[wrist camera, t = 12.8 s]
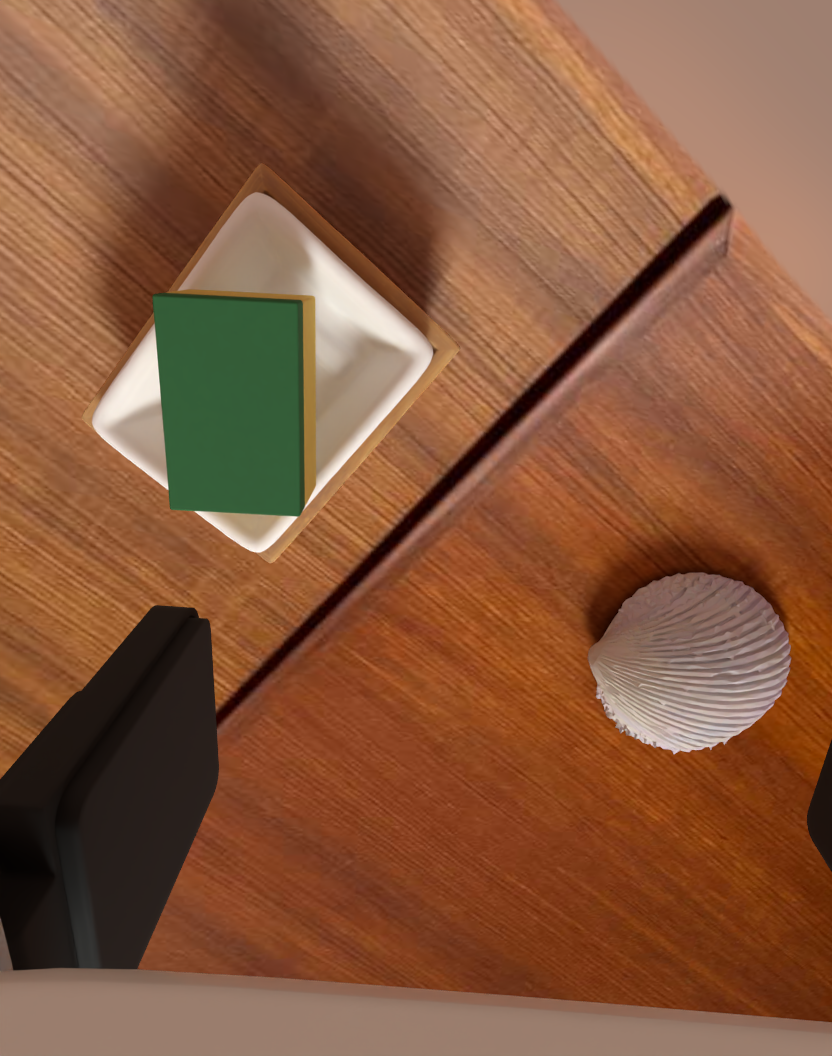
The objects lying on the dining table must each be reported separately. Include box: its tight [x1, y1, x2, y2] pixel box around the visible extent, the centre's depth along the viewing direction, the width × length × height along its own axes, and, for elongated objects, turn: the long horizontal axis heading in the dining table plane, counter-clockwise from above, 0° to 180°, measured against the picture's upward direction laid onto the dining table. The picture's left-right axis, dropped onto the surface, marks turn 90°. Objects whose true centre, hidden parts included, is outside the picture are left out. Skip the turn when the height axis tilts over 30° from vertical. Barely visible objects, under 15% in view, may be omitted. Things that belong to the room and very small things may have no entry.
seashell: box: [588, 572, 791, 754], centre depth 34 cm, size 10×6×10 cm
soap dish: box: [82, 163, 460, 563], centre depth 29 cm, size 12×10×5 cm
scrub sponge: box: [152, 289, 316, 517], centre depth 25 cm, size 7×5×4 cm, turn 177°
